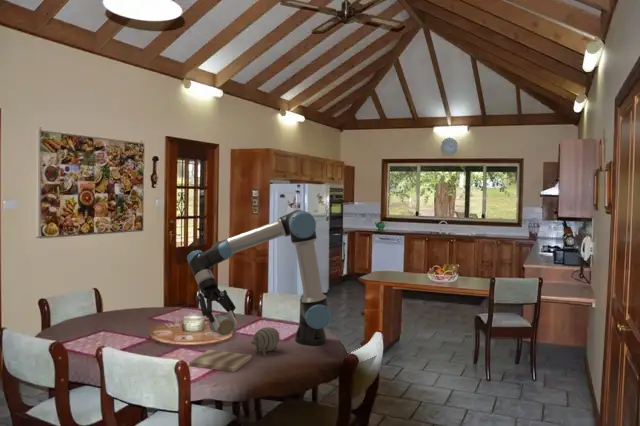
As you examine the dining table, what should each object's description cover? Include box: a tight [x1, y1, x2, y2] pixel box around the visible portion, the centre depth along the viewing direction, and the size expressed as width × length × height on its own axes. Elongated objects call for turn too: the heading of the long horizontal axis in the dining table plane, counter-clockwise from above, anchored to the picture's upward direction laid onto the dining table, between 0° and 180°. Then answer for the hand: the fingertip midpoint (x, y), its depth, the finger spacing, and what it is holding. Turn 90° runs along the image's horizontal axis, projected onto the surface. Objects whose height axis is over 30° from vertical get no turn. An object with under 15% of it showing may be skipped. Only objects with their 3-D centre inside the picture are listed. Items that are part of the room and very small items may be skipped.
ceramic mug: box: [208, 313, 237, 336], centre depth 226 cm, size 11×8×8 cm
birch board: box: [188, 349, 253, 373], centre depth 226 cm, size 20×18×2 cm
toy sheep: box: [250, 326, 281, 356], centre depth 242 cm, size 11×17×11 cm, turn 147°
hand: (226, 326), depth 223 cm, fingers closed on ceramic mug, 8 cm apart
